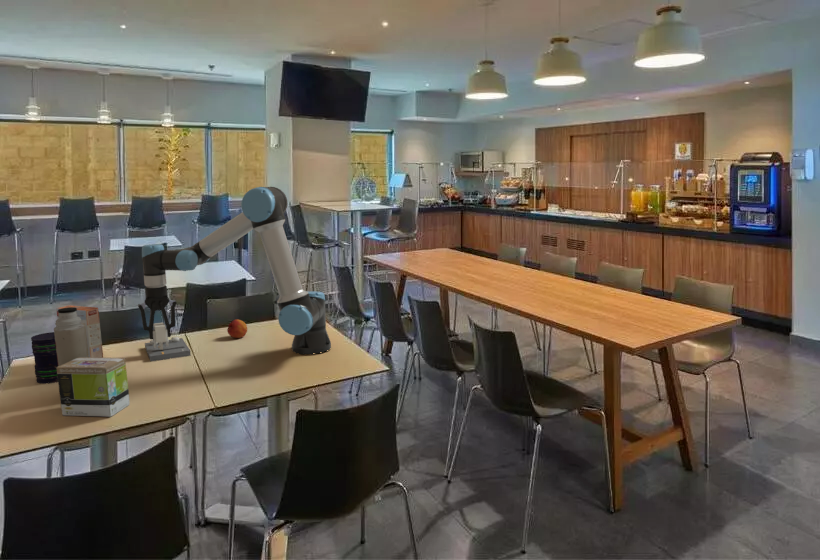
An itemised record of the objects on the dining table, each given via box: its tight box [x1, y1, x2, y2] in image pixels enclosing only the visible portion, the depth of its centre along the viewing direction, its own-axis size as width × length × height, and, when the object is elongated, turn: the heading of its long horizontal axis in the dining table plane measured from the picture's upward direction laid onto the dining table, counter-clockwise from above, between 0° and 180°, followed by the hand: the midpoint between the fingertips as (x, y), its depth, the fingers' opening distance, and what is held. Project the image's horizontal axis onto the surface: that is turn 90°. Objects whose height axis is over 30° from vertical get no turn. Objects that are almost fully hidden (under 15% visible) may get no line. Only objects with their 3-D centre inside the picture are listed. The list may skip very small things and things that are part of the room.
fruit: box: [226, 318, 248, 339], centre depth 241 cm, size 8×8×8 cm
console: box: [144, 336, 192, 362], centre depth 223 cm, size 20×14×4 cm
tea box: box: [56, 357, 130, 418], centre depth 166 cm, size 15×10×15 cm, turn 84°
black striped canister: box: [30, 331, 58, 385], centre depth 192 cm, size 10×10×15 cm
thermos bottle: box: [53, 307, 88, 366], centre depth 175 cm, size 8×8×28 cm
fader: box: [153, 322, 166, 350], centre depth 217 cm, size 6×4×10 cm, turn 30°
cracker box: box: [56, 304, 104, 358], centre depth 208 cm, size 14×6×21 cm, turn 71°
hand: (161, 346), depth 218 cm, fingers closed on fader, 3 cm apart
